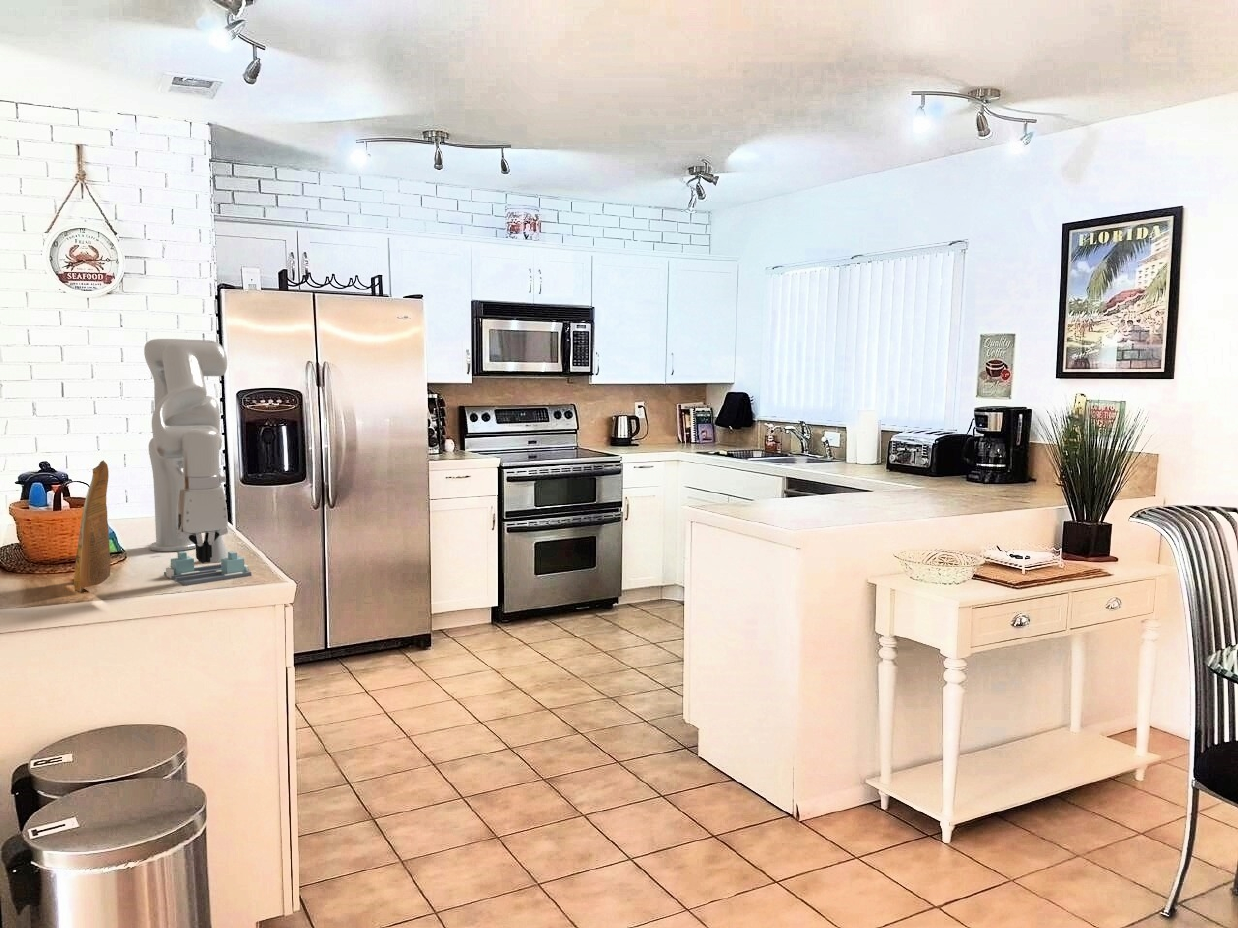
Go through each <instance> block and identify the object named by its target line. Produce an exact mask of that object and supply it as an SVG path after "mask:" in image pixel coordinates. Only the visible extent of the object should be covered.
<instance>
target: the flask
mask: <svg viewBox="0 0 1238 928" xmlns="http://www.w3.org/2000/svg"><path fill="white" fill-rule="evenodd" d="M228 552H229V551H228V549H227V546H226V544H225V541H224V537H223V535H222V536H219V537H218V538H217V539H216V540H215V541H214V543H213V545H212V557H211V558H210V562H205V563H207V564H214V563H215V564H218V563H219V564H221V559H222V558H228Z"/></svg>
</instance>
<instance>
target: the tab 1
mask: <svg viewBox="0 0 1238 928" xmlns="http://www.w3.org/2000/svg"><path fill="white" fill-rule="evenodd" d="M170 568H171V569H173V570H174V575H180V574H181V573H188V572H194V568H195V558H193V557H191V556H189V555H188V554H187V552H185V551H184V550H181V551H177V557H172V558H170Z"/></svg>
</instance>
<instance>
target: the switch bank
mask: <svg viewBox="0 0 1238 928" xmlns="http://www.w3.org/2000/svg"><path fill="white" fill-rule="evenodd" d="M244 567H245V572H237V573H231V574H224V575H223V576H222V572H221V563H219V564H218V563H216V564H212V565H204V566H198V567H194V572H188V573H181V574H180V575H174V570H173V569H171V567H168V566H167V567H166V568H165V571H163V576H164V577H166V578H168V579H170V580H173V581H174V582H176V583H178V584H181V585H183V586H185V587H188V586H194V585H196V586H197V585H202V584H207V583H213V582H214V583H215V582H221V581H227V580H234V579H240V578H247V577H253V575H252V571H250V566H249V565H247V564H245V563H244Z"/></svg>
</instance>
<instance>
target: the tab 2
mask: <svg viewBox="0 0 1238 928" xmlns="http://www.w3.org/2000/svg"><path fill="white" fill-rule="evenodd" d="M220 564H221V572H222V576H223V575H224V574H231V573H237V572H245V567H244V564H245V558H243V557H241V556H238V552H237V551H232V550H231V551H228V558H222V559H221V562H220Z"/></svg>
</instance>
